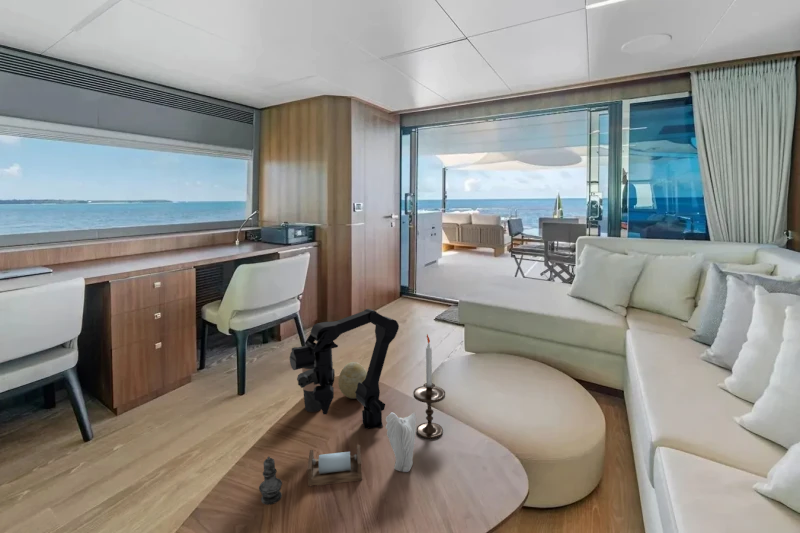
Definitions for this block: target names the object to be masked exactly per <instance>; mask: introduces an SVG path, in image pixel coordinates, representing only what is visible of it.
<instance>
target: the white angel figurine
mask: <svg viewBox="0 0 800 533" xmlns="http://www.w3.org/2000/svg"><path fill="white" fill-rule="evenodd" d="M385 421H386V425H385V429H386V430H387V431H386V436H387V437H388V442H389V444H390V447H391V449H392V451H393V453H394V456H395V464H394V466H393V467H394V468H393V469H394V470H396V471H398V472H403V473H408V472H410V470H411V468H412V466H413V464H414V463H413V456H414V447H415V442H416V441H415V439H416V431H417V426H416V424H417V423H416V422H417V418H416V412H415V411H414V412H412V413H411V414H410V415H409V416H404V417H398V415H397V414H396V413H394V412H392V411H391V412H390V413H389V414H388V415H386V417H385Z"/></svg>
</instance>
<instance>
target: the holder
mask: <svg viewBox="0 0 800 533" xmlns="http://www.w3.org/2000/svg"><path fill="white" fill-rule="evenodd" d="M314 457H315V456H314V449H309V454H308V460H307V461H308V462H307V469H306V472H307V486H308V487H311V486H310V485H317V486H323V485H331V484H339V483H340V484H341V483H348V482H357V481H362V480H363V473H362V470H363V468H362V458H361V457H362V455H361V444H356V454H353V455H351V454H350V463H351V470H350V471H342V472H333V473H324V474H319V458H314Z"/></svg>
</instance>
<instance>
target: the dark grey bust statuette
mask: <svg viewBox="0 0 800 533" xmlns="http://www.w3.org/2000/svg"><path fill="white" fill-rule="evenodd" d="M275 464H276V463H275V459H274V458H272V457H271V456H269V455H268V456H267V458H266V459H264V461H263V472H262V476H263V479H264V481H262V482H261V483H260V484H259V486H258V490H259V492H260V493H261V499H260V500H261V503H262V504H263V505H267V506H268V505H273V504H276V503H277V502H279V501H280V500H281V498H282V492H281V489H282V488H281V487H282V485H283V481H282V480H281V478H278V477H277V472H278V471H277V469H276V465H275Z"/></svg>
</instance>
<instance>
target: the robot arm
mask: <svg viewBox="0 0 800 533" xmlns="http://www.w3.org/2000/svg"><path fill="white" fill-rule="evenodd" d="M368 324H372V325H375V329H374V333H375V334H374V335H375V343H374V346H373V350H372V354H371V358H370V362H369V366H368V368H367V375H366V378H365V380H364V381H363V382H362V383H360V382H359V383H358V386H357V390H356V392H355V393H356V400H357V401H358V402H359V403H360V405H361V406H363V410H361V416H362V417H361V418H362V425H363V427H364V428H363V429H375V428H383V427H384V426H383V418H382V417H383V416H382V413H383V411H384V410H385V407H386V403H385V402H383V401H382V400H380V395H381V394H380V393H381V392H380V390H381V389H380V385H379V384H380V383H379V382H380V378H381V375H382V371H383V368H384V364H385V360H386V358H387V357H386V356H387V354H388V350H389V346H390V344H391V343H392V341H394V340H395V339H396V336H397V334H398V331H399V326H400V325H399V323H398V321H397V320H395V319H393V318H391V317H388V316H385V315H384V316H383V315H382V314H380V313H379V312H377V311H376V310H373V309H371V308H367V309H364V310H363V311H360V312H357V313H354V314H352V315H349V316H346V317H344V318H340V319H338V320H335V321H322V322H317V323H315V324H313V325H312V327H311V329H310V334H309V335H308V337H307V339H306V340H305V342H304V345H302V346H294V347H292V348H291V352H290V353H289V354H290V355H289V363H290V367H291V369H292V371H296V370H302V368H305V367H309V366H312V365H313V364H314V362H315V364H314V368H313V369H310V370H307V371H305V372H303V373H302V372H301V373H299V374H298V375H297V377H296V380H297V385H298V386H299V387H300V389H303V387H305V386H306V385H309V384H311V383H313V382H314V385H315V384H319V385H321V386H316V387H315V388H314V390H313V400H315V401H318V402H319V403H320V406H321V411H322V415H327V414H328V412H329V409H330V406H331V404H332V401H333V399H334V397H335V396H334V394H335V392H334V382H335V369H334V368H333V366H334V364H333V363H334V362H333V349H335V348H338V347H339V344H337V343H335V342H334V341H335V340H337V339H338V337H340V336H341V335H343V334H345V333H347V332H350V331H352V330H354V329H357V328H361V327H363V326H365V325H368ZM315 341H316V342H315Z"/></svg>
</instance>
